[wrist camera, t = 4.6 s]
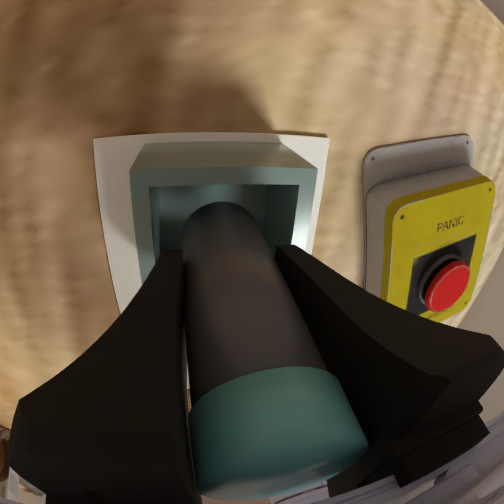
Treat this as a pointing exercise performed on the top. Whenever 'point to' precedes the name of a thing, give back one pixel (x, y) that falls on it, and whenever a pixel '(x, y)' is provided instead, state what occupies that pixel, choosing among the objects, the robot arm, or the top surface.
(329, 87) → the top surface
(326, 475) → the marker
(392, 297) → the emergency button
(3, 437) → the coffee box
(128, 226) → the white flat plate
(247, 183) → the grey-green hollow square block
